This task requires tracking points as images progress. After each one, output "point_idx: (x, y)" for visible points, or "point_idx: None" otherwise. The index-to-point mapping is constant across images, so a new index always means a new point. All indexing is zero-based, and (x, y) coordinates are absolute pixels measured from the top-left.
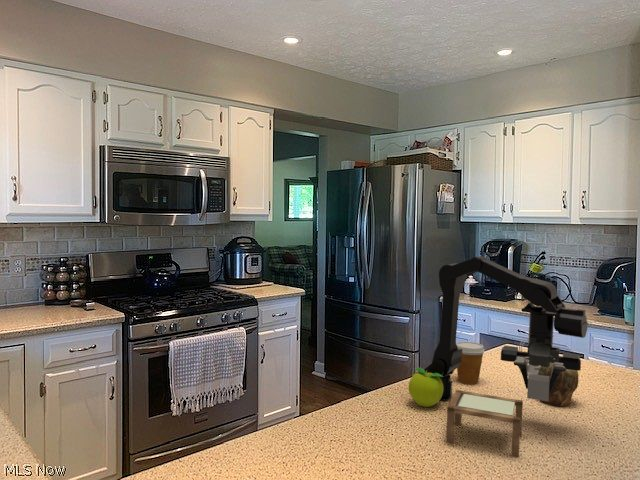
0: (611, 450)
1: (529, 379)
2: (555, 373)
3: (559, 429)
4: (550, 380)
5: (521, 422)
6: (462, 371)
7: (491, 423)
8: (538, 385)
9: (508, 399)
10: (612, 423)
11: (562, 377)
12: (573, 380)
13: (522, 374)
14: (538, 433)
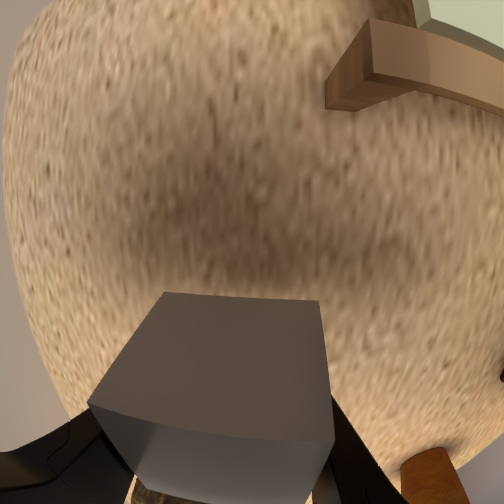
0: (32, 148)
1: (316, 437)
2: (19, 467)
3: (168, 246)
4: (99, 435)
5: (337, 65)
6: (450, 470)
7: (446, 189)
8: (210, 384)
9: (482, 71)
10: (65, 349)
11: (163, 496)
12: (139, 484)
13: (387, 484)
14: (249, 156)
